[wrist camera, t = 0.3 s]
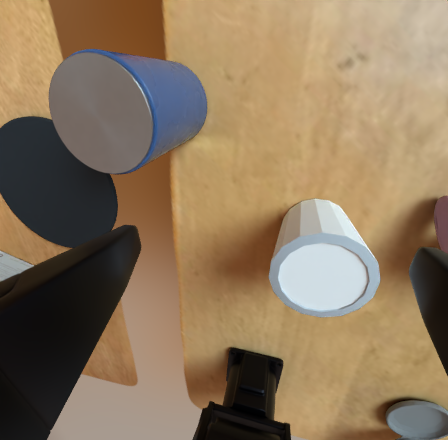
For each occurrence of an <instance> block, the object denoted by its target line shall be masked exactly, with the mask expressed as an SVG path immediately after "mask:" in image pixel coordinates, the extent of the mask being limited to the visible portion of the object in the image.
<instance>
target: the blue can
mask: <svg viewBox="0 0 448 440" xmlns="http://www.w3.org/2000/svg"><path fill="white" fill-rule="evenodd" d="M49 107H50V113H51V117H52V120H53V123H54V126H55V128H56V131H57V133H58V135H59V136H60V138H61V140H62V141H63V143H64V144H65V146H66V147H67V148H68V149H69V151H70V152H71V153H72V154H73V155H74V156H75V157H76V158H77V159H79V160H80V161H81V162H83V163H84V164H85V165H87V166H89V167H91V168H93V169H95V170H97V171H100V172H104V173H109V174H126V173H130V172H133V171H135V170H137V169H139V168H141V167H142V166H144V165H146V164H148V163H149V162H151V161H153V160H155V159H156V158H158V157H160V156H162V155H163V154H165V153H167V152H169V151H170V150H172V149H174V148H176V147H177V146H179V145H181V144H183V143H184V142H186V141H188V140H190V139H191V138H193V137H194V136H195V135H196V134H197V133H198V132H199V131H200V129H201V128H202V126H203V124H204V122H205V119H206V114H207V99H206V94H205V91H204V88H203V86H202V84H201V82H200V80H199V79H198V78H197V76H196V75H195V74H194V73H193V72H192V71H191V70H190V69H189V68H187V67H186V66H184V65H182V64H180V63H177V62H173V61H167V60H160V59H154V58H148V57H141V56H135V55H129V54H122V53H116V52H110V51H104V50H97V49H86V50H81V51H78V52H76V53H73V54H72V55H70V56H69V57H67V58H66V59H65V60H64V61H63V62H62V63H61V64H60V65H59V66H58V68H57V69H56V71H55V72H54V75H53V77H52V80H51V83H50V88H49Z"/></svg>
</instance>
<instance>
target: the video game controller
mask: <svg viewBox="0 0 448 440" xmlns="http://www.w3.org/2000/svg"><path fill="white" fill-rule="evenodd" d="M434 222H435V229H436V234H437V239H438V242H439V245H440V248H441V251H443V252H445V253H447V254H448V196H443V197H441V198H439V199H438V201H437V202H436V205H435V210H434Z"/></svg>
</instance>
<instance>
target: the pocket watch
mask: <svg viewBox="0 0 448 440" xmlns="http://www.w3.org/2000/svg"><path fill="white" fill-rule="evenodd" d="M386 422H387V424H388V426H389V427H390V429H392V430H393V431H394V432H395V433H397V434H399V435H401V438H398V439H396V440H436V439H440V438H444V437H446V436H448V411H447V410H446V409H444V408H443V407H441V406H439V405H437V404H434V403H431V402H427V401H416V400H409V401H403V402H399V403H396V404H394V405H393V406H391V407H390V408H389V409H388V410H387V412H386Z"/></svg>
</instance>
